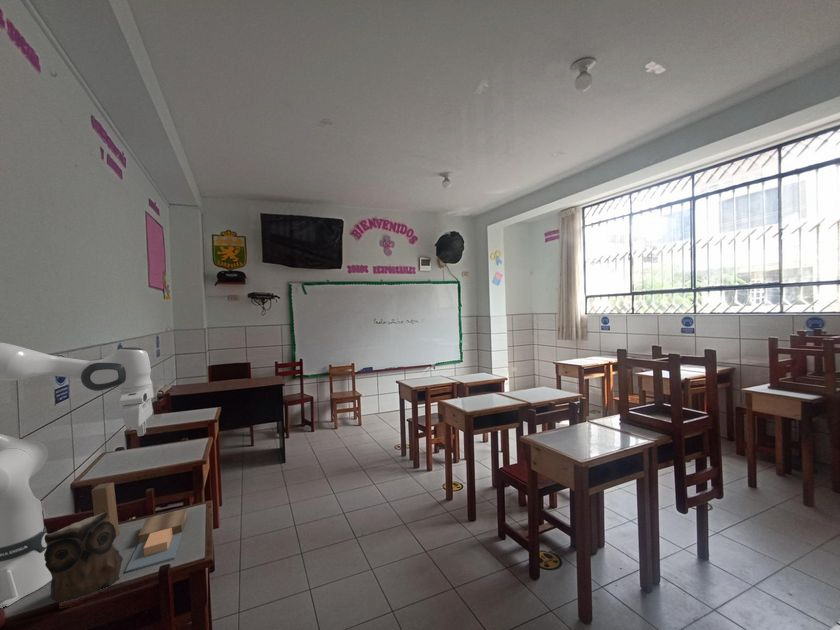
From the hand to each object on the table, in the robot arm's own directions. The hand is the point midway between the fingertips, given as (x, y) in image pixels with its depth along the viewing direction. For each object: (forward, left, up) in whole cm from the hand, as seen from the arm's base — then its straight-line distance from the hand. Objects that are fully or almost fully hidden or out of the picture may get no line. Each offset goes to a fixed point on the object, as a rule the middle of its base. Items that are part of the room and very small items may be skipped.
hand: (141, 434), depth 134 cm
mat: (+4, -15, -33) cm, 37 cm away
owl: (-10, -26, -33) cm, 43 cm away
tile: (+4, -13, -33) cm, 35 cm away
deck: (+4, -2, -33) cm, 33 cm away
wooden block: (-15, +3, -33) cm, 37 cm away
